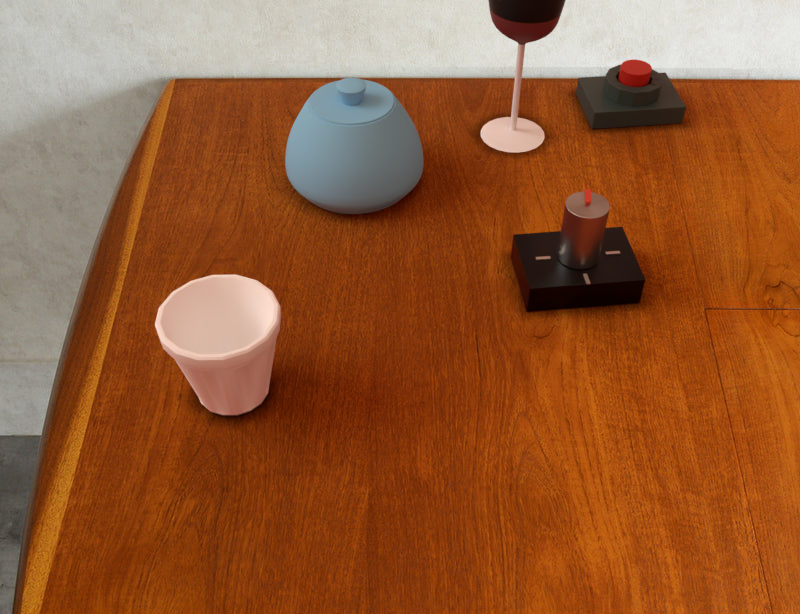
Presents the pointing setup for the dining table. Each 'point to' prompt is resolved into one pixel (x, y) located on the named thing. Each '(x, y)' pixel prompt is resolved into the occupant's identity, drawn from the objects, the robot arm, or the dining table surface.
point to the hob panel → (575, 273)
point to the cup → (222, 339)
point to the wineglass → (520, 67)
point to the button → (635, 73)
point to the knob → (582, 229)
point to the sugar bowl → (353, 148)
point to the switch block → (629, 101)
